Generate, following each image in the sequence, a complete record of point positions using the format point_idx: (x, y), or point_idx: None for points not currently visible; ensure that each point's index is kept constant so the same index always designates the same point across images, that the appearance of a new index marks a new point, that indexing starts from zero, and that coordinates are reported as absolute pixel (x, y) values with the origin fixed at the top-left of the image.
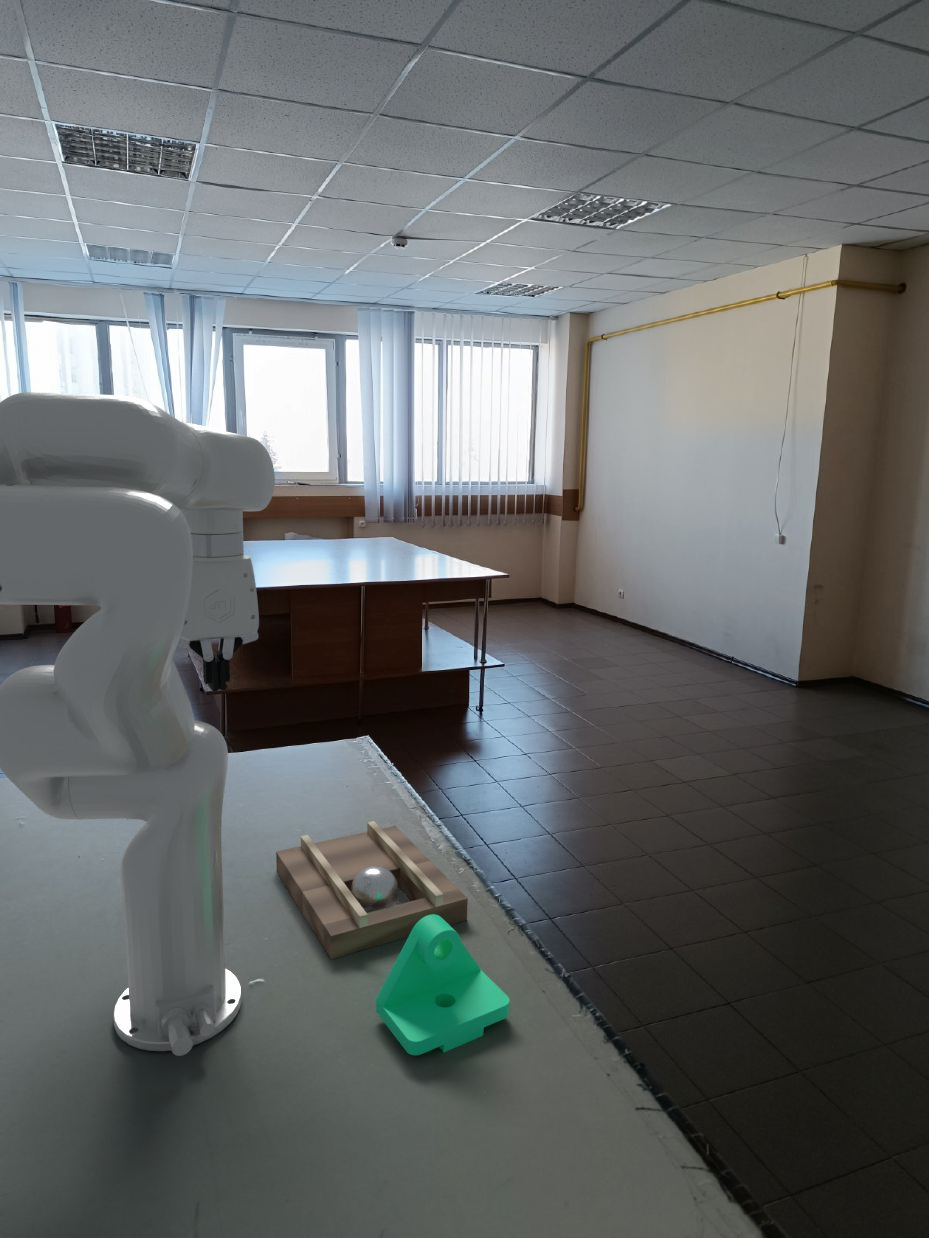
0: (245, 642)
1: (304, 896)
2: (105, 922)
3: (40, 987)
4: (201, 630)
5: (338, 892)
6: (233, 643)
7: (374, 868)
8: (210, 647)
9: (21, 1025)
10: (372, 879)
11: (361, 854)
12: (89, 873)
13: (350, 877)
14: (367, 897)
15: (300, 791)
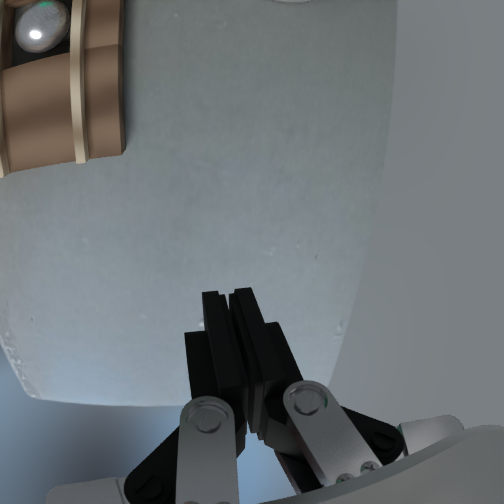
0: (110, 482)
1: (118, 35)
2: (320, 120)
3: (378, 51)
4: (450, 498)
5: (83, 15)
6: (180, 477)
7: (30, 23)
8: (314, 444)
9: (391, 16)
10: (42, 7)
11: (27, 114)
12: (315, 221)
13: (55, 60)
14: (58, 1)
15: (79, 324)
